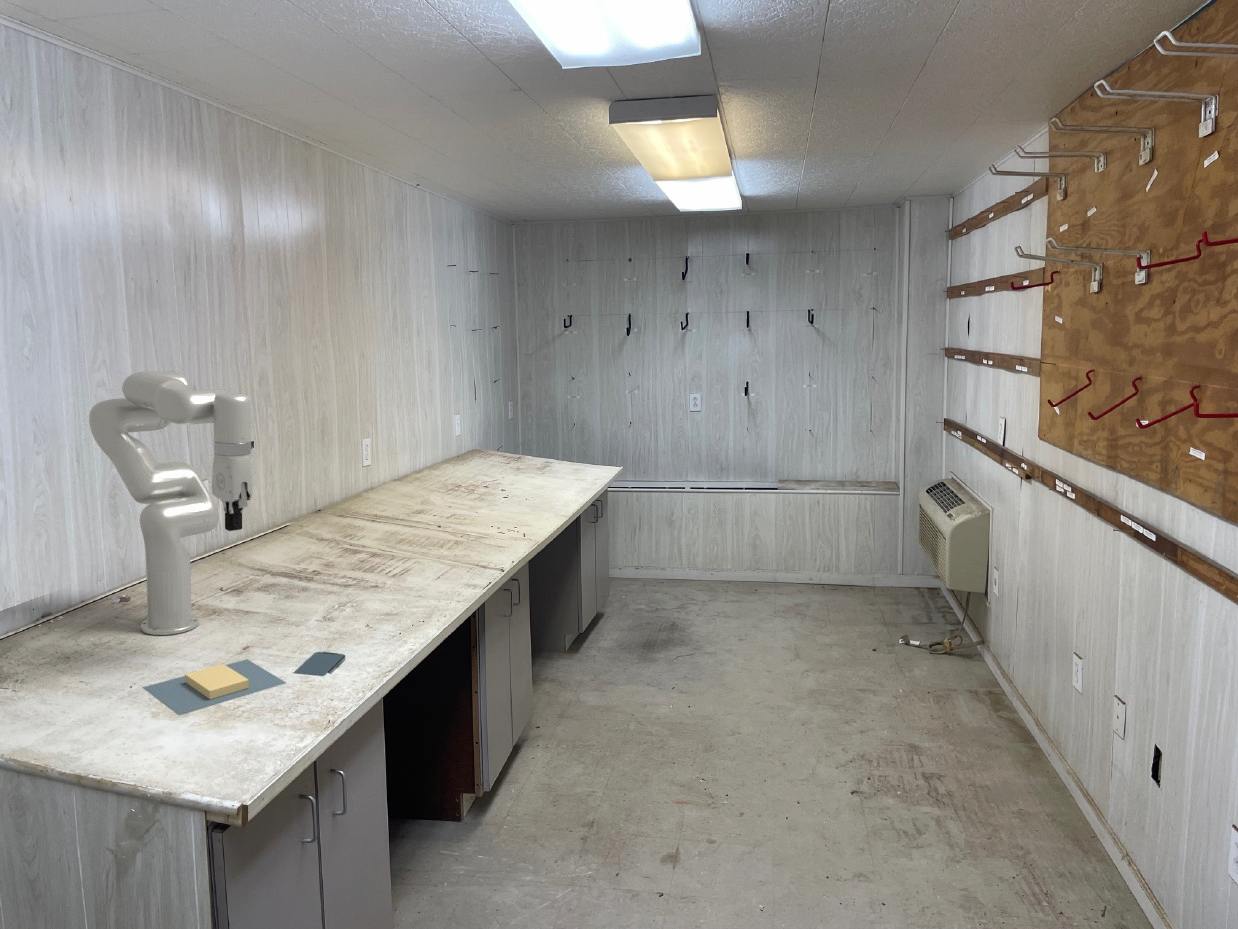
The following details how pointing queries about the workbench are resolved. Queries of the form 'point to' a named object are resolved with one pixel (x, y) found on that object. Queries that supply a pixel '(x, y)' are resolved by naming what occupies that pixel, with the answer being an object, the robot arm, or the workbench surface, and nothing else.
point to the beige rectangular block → (216, 681)
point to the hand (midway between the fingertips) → (233, 529)
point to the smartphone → (321, 664)
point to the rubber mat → (189, 699)
